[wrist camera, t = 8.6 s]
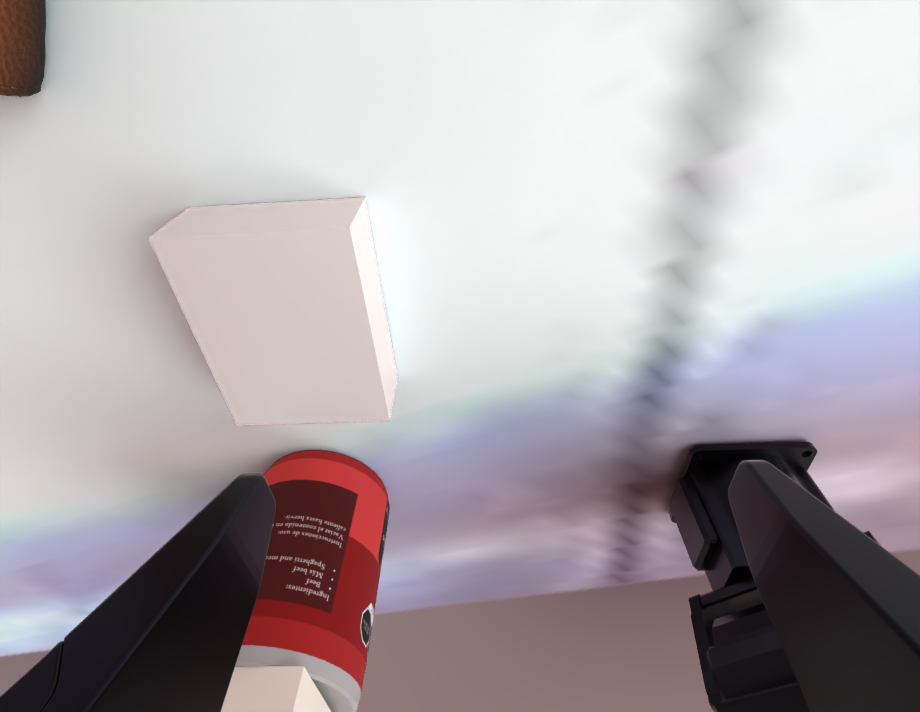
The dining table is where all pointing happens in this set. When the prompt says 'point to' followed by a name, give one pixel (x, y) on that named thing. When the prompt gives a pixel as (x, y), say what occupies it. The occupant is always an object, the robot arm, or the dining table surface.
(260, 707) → the cream box
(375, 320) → the pale pink chamfered block
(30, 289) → the dining table surface
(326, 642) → the canned food
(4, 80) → the sunglasses case
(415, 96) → the dining table surface
